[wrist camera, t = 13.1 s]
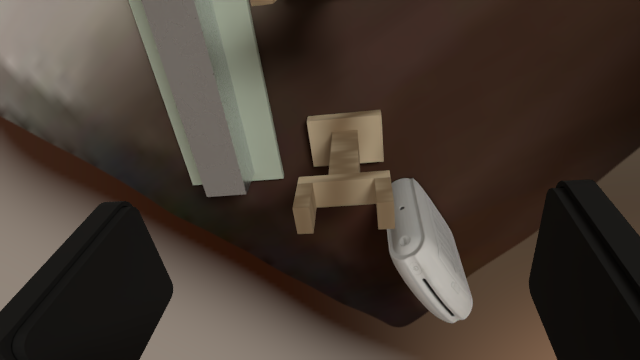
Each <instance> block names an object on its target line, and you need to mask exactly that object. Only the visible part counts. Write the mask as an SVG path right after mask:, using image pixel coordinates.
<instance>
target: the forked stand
mask: <svg viewBox="0 0 640 360" xmlns="http://www.w3.org/2000/svg"><path fill="white" fill-rule="evenodd" d="M250 1H251V6H258V5H266V4H273V3H274V2H275V1H276V0H250ZM307 127H308V133H309V139H310V146H311V152H312V158H313V165H314V167H318V166H329V174H328V175H321V176H307V177H299V179H298V184H297V188H296V193H295V198H294V203H293V208H292V209H293V214H294V219H295V224H296V228H297V233H298V234H308V233H314V225H315V217H316V208H318V207H334V206H349V205H365V204H376V207H377V218H378V230H379V229H395V212H394V198H393V191H392V184H391V178H390V171H389V170H388V171H375V172H361V173H360V163H370V162H383V161H384V159H383V139H382V119H381V110H372V111H361V112H350V113H339V114H328V115H318V116H308V118H307Z"/></svg>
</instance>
